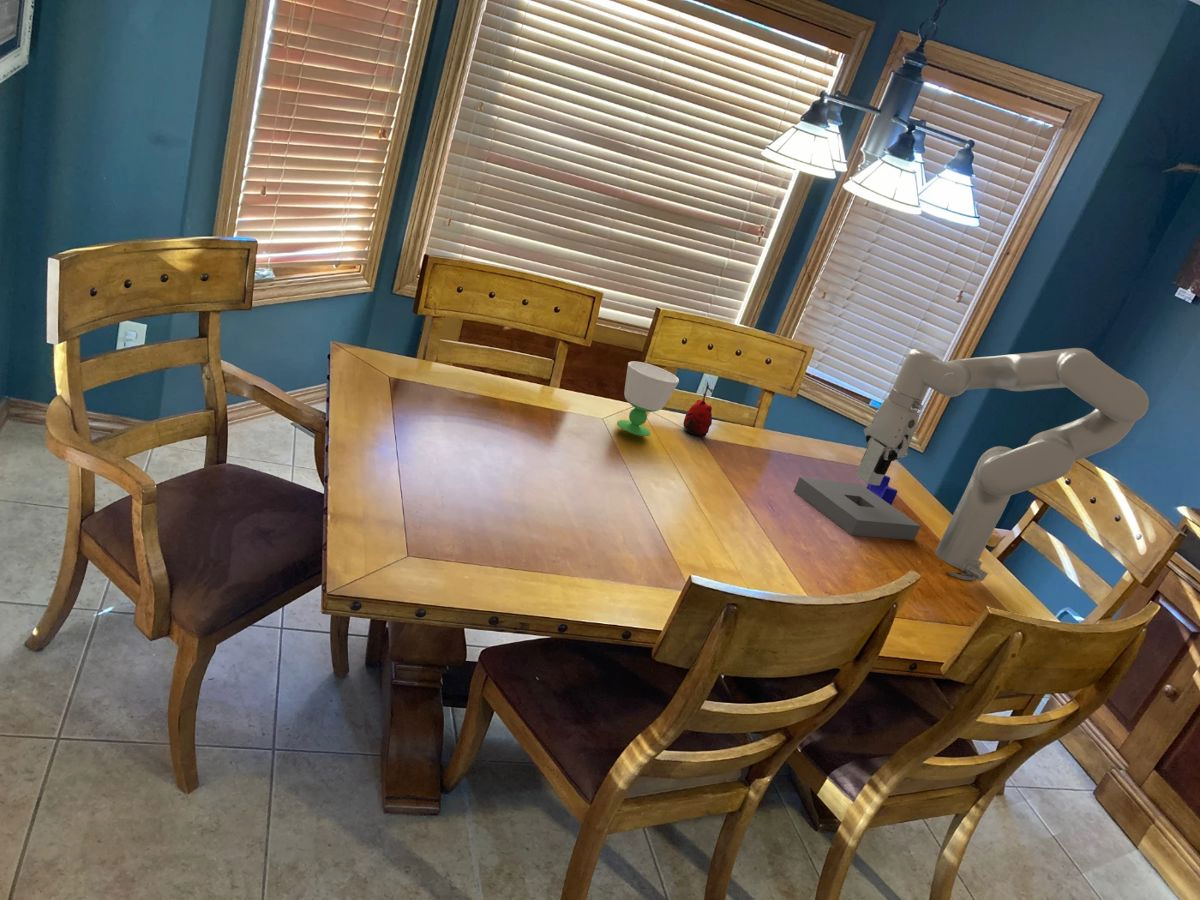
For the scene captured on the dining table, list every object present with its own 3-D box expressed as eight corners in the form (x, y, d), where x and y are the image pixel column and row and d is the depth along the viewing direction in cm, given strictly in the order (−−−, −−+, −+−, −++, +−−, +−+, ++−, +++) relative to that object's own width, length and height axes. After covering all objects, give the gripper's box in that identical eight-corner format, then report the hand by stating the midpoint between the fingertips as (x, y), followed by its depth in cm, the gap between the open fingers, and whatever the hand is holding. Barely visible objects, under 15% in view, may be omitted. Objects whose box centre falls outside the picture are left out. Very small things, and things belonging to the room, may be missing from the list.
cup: (640, 420, 251) (659, 365, 246) (668, 442, 241) (690, 385, 236) (598, 415, 243) (618, 358, 238) (626, 437, 233) (647, 378, 228)
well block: (914, 540, 231) (920, 525, 229) (850, 535, 219) (857, 520, 218) (855, 497, 248) (861, 484, 247) (793, 491, 236) (799, 476, 235)
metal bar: (879, 485, 230) (896, 448, 227) (867, 483, 228) (884, 446, 225) (867, 477, 234) (884, 440, 230) (855, 475, 231) (871, 438, 228)
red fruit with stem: (711, 437, 258) (730, 386, 253) (697, 438, 252) (716, 387, 248) (689, 425, 262) (708, 375, 257) (675, 426, 256) (694, 375, 252)
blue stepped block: (865, 490, 258) (873, 471, 256) (880, 496, 258) (889, 476, 256) (871, 506, 247) (881, 485, 245) (888, 512, 247) (897, 491, 245)
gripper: (940, 417, 219) (906, 486, 225) (890, 389, 232) (860, 455, 238) (918, 413, 215) (885, 483, 221) (869, 384, 228) (839, 452, 234)
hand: (872, 468), depth 230 cm, fingers closed on metal bar, 4 cm apart
